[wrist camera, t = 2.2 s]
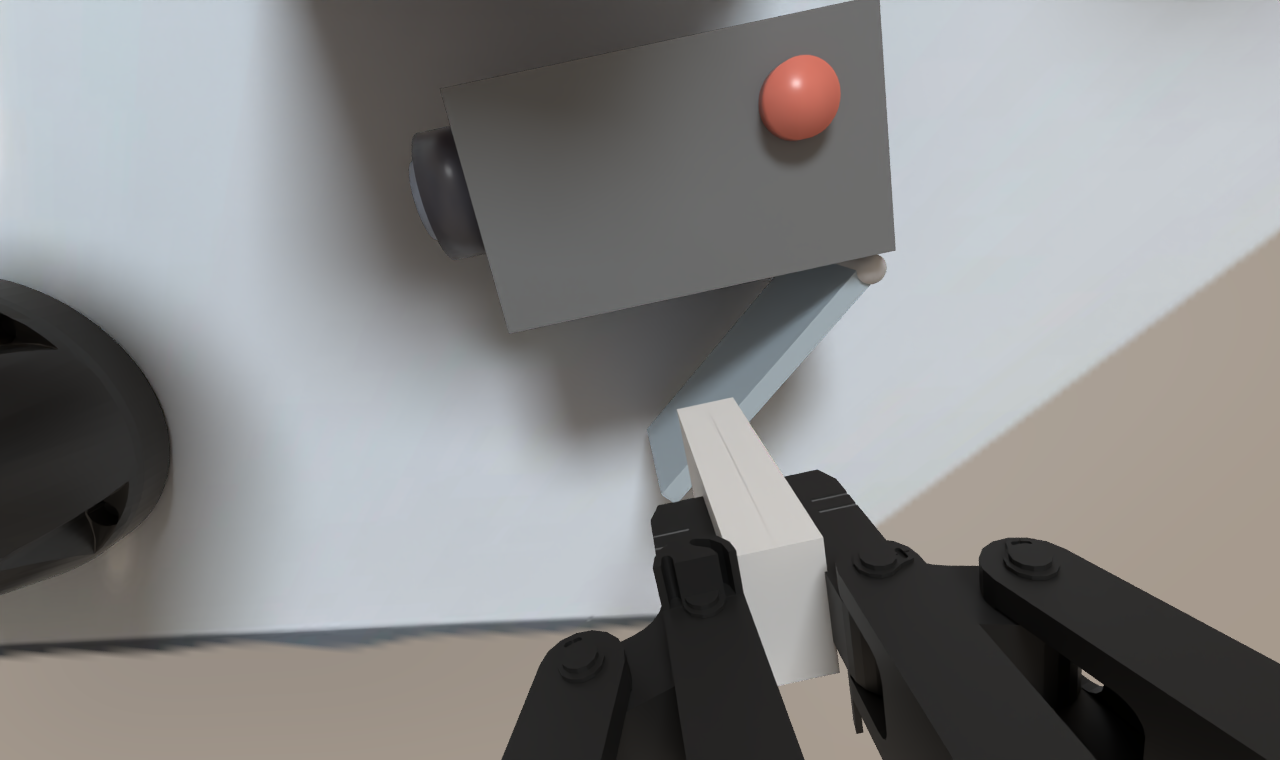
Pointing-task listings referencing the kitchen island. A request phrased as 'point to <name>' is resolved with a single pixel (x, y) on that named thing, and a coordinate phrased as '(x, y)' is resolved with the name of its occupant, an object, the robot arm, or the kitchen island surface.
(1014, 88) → the kitchen island surface
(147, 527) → the kitchen island surface
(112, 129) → the kitchen island surface
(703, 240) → the camera block
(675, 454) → the side door
